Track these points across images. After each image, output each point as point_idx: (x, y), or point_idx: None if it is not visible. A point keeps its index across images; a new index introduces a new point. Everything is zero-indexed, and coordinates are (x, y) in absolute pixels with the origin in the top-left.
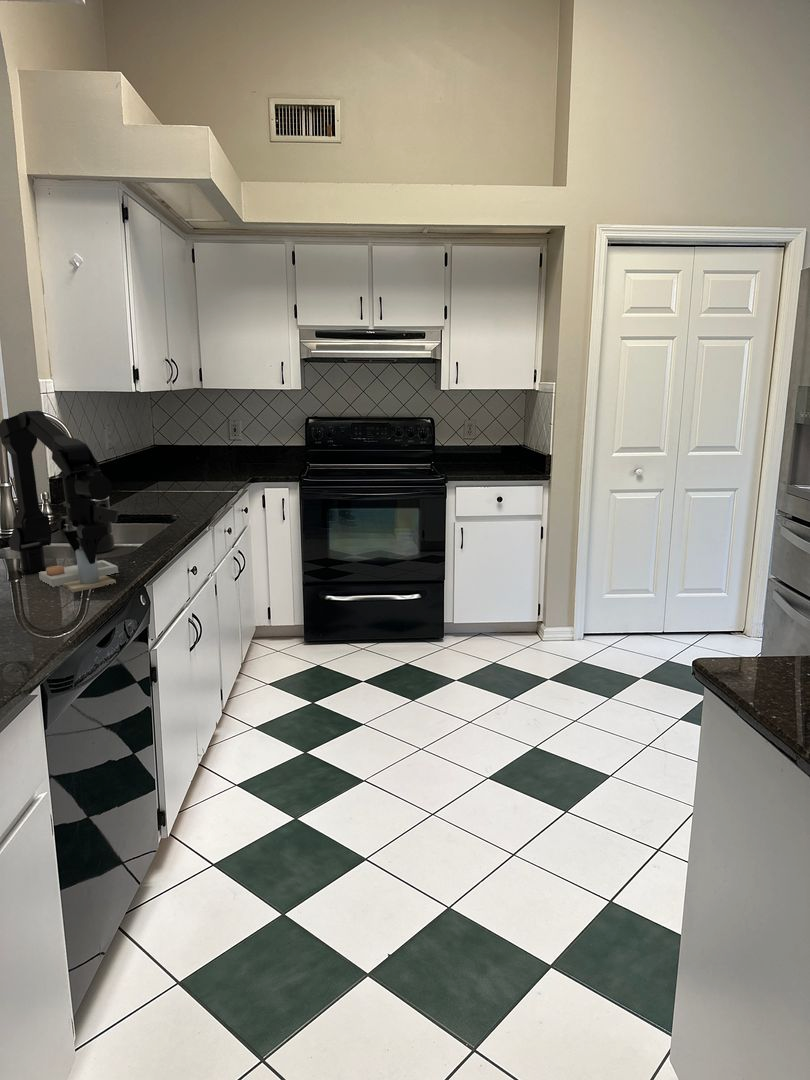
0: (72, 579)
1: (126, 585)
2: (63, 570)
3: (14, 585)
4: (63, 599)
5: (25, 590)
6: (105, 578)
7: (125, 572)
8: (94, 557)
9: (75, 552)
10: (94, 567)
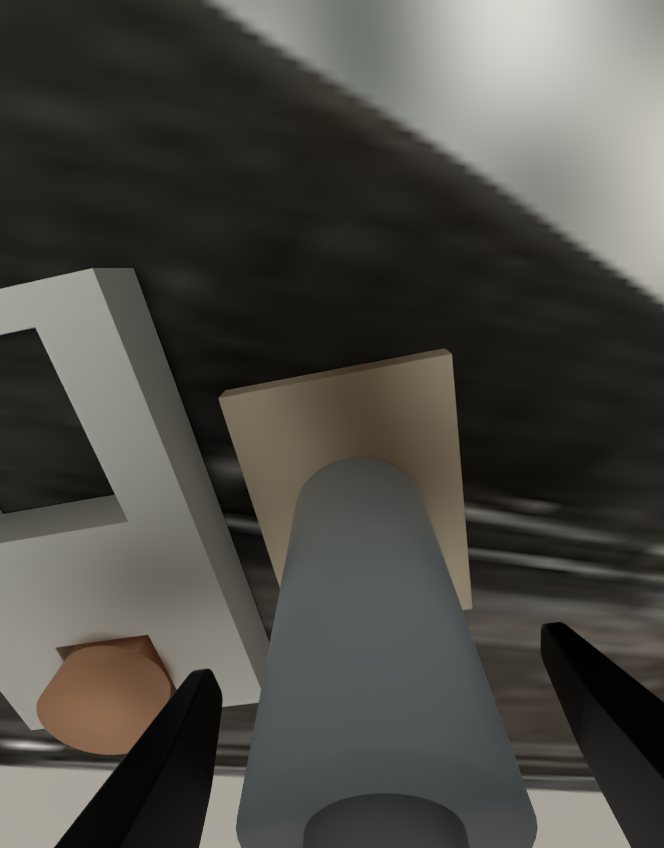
0: (238, 590)
1: (571, 286)
2: (127, 661)
3: (123, 756)
4: None
5: (252, 735)
6: (335, 411)
7: (100, 196)
8: (632, 691)
9: (203, 810)
10: (441, 563)
